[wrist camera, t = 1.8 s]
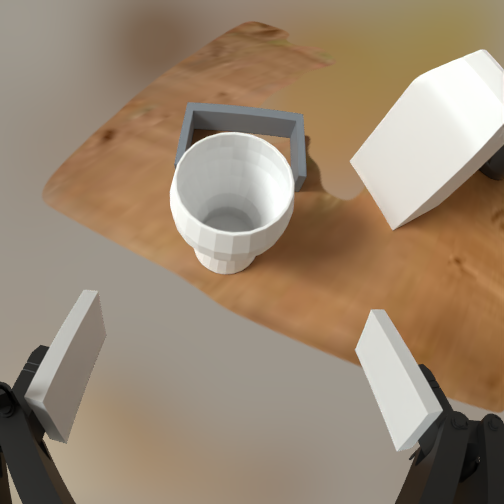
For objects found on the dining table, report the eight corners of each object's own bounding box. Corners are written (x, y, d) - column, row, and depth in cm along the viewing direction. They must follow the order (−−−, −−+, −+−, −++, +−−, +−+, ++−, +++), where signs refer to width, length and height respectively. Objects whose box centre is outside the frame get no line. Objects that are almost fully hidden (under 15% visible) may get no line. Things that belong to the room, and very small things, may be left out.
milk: (349, 161, 45) (437, 25, 20) (399, 144, 48) (484, 35, 23) (392, 230, 42) (522, 122, 18) (438, 205, 45) (549, 112, 20)
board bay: (296, 131, 45) (303, 114, 42) (298, 191, 42) (306, 176, 38) (188, 120, 44) (187, 102, 40) (177, 180, 41) (174, 164, 37)
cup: (164, 256, 37) (138, 198, 23) (212, 189, 41) (214, 109, 27) (241, 303, 37) (261, 270, 23) (284, 230, 40) (321, 164, 26)
